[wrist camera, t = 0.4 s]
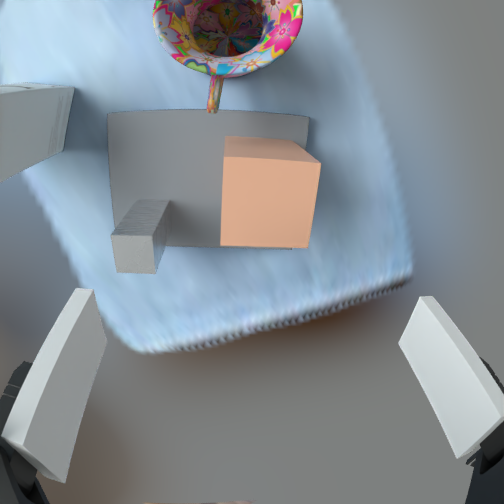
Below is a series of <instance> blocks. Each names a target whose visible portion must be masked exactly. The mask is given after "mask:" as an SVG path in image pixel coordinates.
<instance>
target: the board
mask: <svg viewBox="0 0 504 504" xmlns="http://www.w3.org/2000/svg"><path fill="white" fill-rule="evenodd" d="M308 126H309V117H306V116H300V115H291V114H281V113H270V112H257V111H241V110H218V112H217V113H216V114H210V113H208V112H207V109H168V110H143V111H127V112H115V113H109V114H107V131H108V157H109V173H110V186H111V197H112V207H113V216H114V224H115V229H116V227H117V226H118V224H119V223H120V222H121V220H122V219H123V218H124V216H125V215H126V213H127V212H128V211H129V209H130V208H131V207H132V205H133V204H134V203H135V202H136V200H170V221H171V232H170V235H169V237H168V240H167V243H166V246H180V247H216V248H252V249H286V250H292V248H287V247H254V246H220V241H221V210H222V184H223V162H224V147H225V136H238V137H256V138H270V139H283V140H292V141H294V142H295V143H296V144H298V145H299V146H300V147H301V148H303V149H304V150H305V151H306V143H307V135H308Z"/></svg>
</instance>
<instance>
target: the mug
mask: <svg viewBox="0 0 504 504" xmlns="http://www.w3.org/2000/svg"><path fill="white" fill-rule="evenodd" d="M302 20H303V5H302V0H156V1H155V4H154V9H153V25H154V29H155V33H156V36H157V38H158V40H159V42H160V43H161V45H162V46H163V48H164V49H165V50H166V51H167V52H168V53H169V54H170V56H172V57H173V58H174V59H175V60H177V61H178V62H180V63H181V64H183V65H185V66H186V67H188V68H191V69H193V70H196V71H199V72H202V73H206V74H209V75H212V76H211V81H210V86H209V93H208V101H207V112H208V113H210V114H216V113H217V112H218V108H219V103H220V97H221V92H222V86H223V80H224V78H231V77H238V76H242V75H245V74H248V73H250V72H252V71H255V70H258V69H260V68H263V67H265V66H267V65H269V64H270V63H272V62H274V61H275V60H277V59H278V58H279V57H280V56H282V55H283V54H284V53H285V52H286V51H287V50H288V49H289V48H290V46H291V45H292V44H293V42H294V41H295V39H296V38H297V36H298V33H299V31H300V28H301V25H302Z"/></svg>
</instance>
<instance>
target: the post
mask: <svg viewBox="0 0 504 504" xmlns="http://www.w3.org/2000/svg"><path fill="white" fill-rule="evenodd" d="M170 232H171V221H170V200H136V202H135V203H134V204H133V205H132V207H131V208H130V209H129V211H128V212H127V213H126V215H125V216H124V218H123V219H122V220H121V222H120V223H119V224H118V226H117V227H116V229H115V230H114V231H113V233H112V234H111V240H112V246H113V253H114V259H115V265H116V270H117V272H122V273H145V274H156V272H157V269H158V266H159V263H160V260H161V257H162V254H163V251H164V249H165V246H166V243H167V240H168V237H169V235H170Z"/></svg>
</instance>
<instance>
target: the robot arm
mask: <svg viewBox="0 0 504 504" xmlns="http://www.w3.org/2000/svg"><path fill="white" fill-rule="evenodd" d="M398 344H399V346H400V347H401V349H402V351H403V352H404V354H405V356H406V358H407V360H408V361H409V363H410V365H411V367H412V369H413V371H414V373H415V375H416V376H417V378H418V380H419V382H420V384H421V386H422V388H423V390H424V392H425V393H426V395H427V397H428V399H429V401H430V403H431V405H432V407H433V409H434V411H435V413H436V415H437V417H438V419H439V421H440V423H441V425H442V428H443V430H444V432H445V434H446V436H447V438H448V440H449V442H450V445H451V447H452V449H453V451H454V454H455V456H456V458H459V457H461V456H464V455H466V454H468V453H470V452H471V451H472V450H473V449H474V448H476V447H477V446H478V445H479V444H480V446H481V448H480V449H479V450H478V451H477V452H476V453H475V454H473V455H472V456H471V457H470V458H469V459H468V460H467V462H466V464H467V465H468V464H469V463H470V462H472V461H473V460H474V459H475V458H476V460H475V461H474V462H473V463H472V464H471V466H473V467H474V470H473V475H472V479H471V483H470V487H469V491H468V495H467V498H466V502H465V504H504V387H503V385H502V384H501V383H500V382H499V379H498V377H497V376H495V373H494V372H493V370H492V369H491V367H490V366H489V364H487V363H486V362H485V361H484V360H483V359H482V358H481V357H478V355H477V354H476V352H475V351H474V350H473V348H472V347H471V345H470V344H469V343H468V341H467V340H466V339H465V337H464V336H463V335H462V333H461V332H460V331H459V329H458V328H457V327H456V325H455V324H454V323H453V321H452V320H451V319H450V317H449V316H448V315H447V314H446V313H445V311H444V310H443V309H442V307H441V306H440V305H439V304H438V302H437V301H436V300H435V299H434V297H433V296H425V297H419V300H418V302H417V305H416V307H415V309H414V311H413V313H412V316H411V318H410V320H409V322H408V324H407V326H406V328H405V331H404V333H403V335H402V337H401V339H400V341H399V343H398ZM106 345H107V339H106V336H105V332H104V329H103V325H102V322H101V318H100V314H99V310H98V306H97V302H96V298H95V294H94V290H93V289H82V288H76V289H75V291H74V292H73V294H72V296H71V297H70V299H69V301H68V302H67V304H66V305H65V307H64V309H63V310H62V312H61V314H60V315H59V317H58V319H57V321H56V322H55V324H54V326H53V327H52V329H51V331H50V333H49V334H48V336H47V338H46V340H45V342H44V344H43V345H42V347H41V349H40V351H39V353H38V355H37V357H36V359H35V361H34V363H29V362H25V361H24V362H23V363H22V364H21V365H20V366H19V367H18V368H17V369H16V370H15V371H14V372H13V374H12V376H11V378H10V380H9V382H8V386H6V389H5V390H4V392H3V393H4V395H2V397H1V399H0V504H50V503H49V501H48V500H47V497H46V495H45V493H44V491H43V489H42V487H41V485H40V483H39V481H38V479H37V478H36V473H37V470H38V471H39V472H40V473H41V474H43V475H44V476H45V477H48V478H50V479H53V480H57V481H59V482H62V483H65V482H66V477H67V473H68V468H69V464H70V460H71V456H72V452H73V448H74V444H75V440H76V437H77V433H78V429H79V426H80V423H81V419H82V416H83V413H84V409H85V406H86V403H87V400H88V396H89V393H90V390H91V387H92V384H93V381H94V378H95V375H96V372H97V370H98V367H99V364H100V361H101V358H102V355H103V353H104V350H105V347H106Z"/></svg>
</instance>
